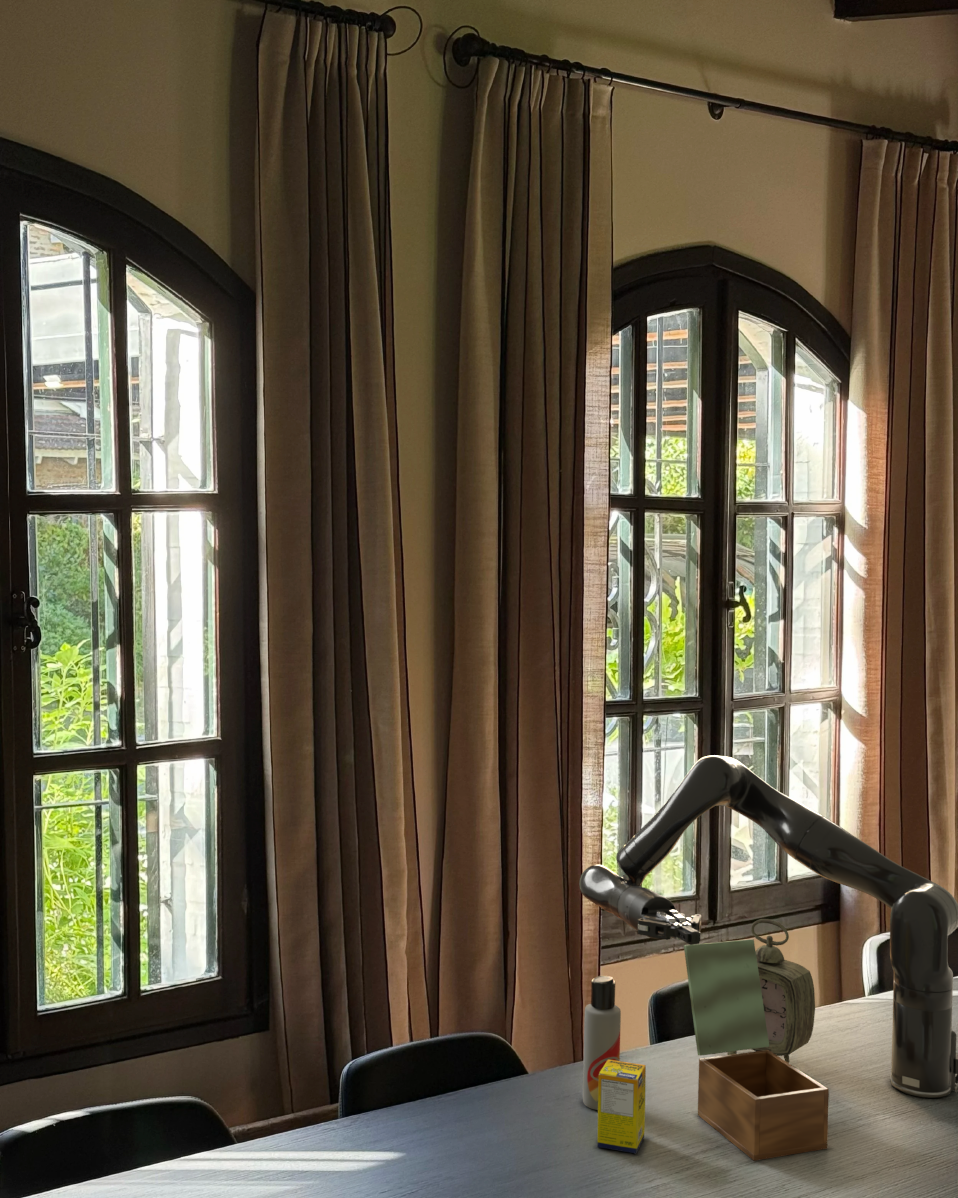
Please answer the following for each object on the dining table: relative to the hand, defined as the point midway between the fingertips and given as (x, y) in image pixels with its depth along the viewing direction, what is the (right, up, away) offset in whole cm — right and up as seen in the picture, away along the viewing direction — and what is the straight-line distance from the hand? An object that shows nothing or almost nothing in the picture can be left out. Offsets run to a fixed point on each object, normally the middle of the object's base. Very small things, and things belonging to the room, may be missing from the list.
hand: (695, 938), depth 197 cm
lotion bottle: (-17, -23, -10) cm, 31 cm away
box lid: (+3, -6, -9) cm, 12 cm away
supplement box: (-15, -23, -23) cm, 37 cm away
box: (+6, -24, -19) cm, 31 cm away
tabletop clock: (+14, -24, +8) cm, 29 cm away
